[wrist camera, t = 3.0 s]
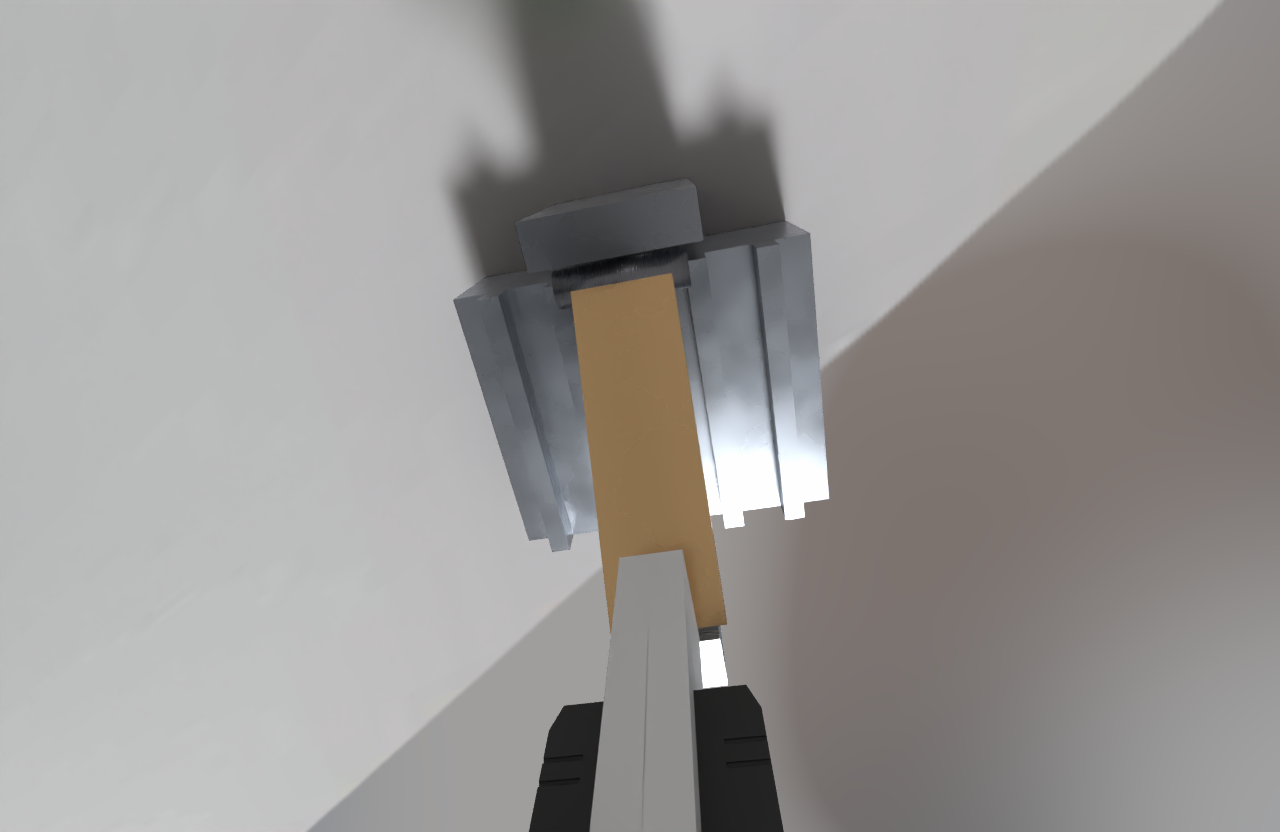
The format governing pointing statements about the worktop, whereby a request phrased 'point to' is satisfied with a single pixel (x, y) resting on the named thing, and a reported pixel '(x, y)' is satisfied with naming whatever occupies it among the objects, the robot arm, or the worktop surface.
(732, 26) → the worktop surface
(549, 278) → the heatsink
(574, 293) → the strap
